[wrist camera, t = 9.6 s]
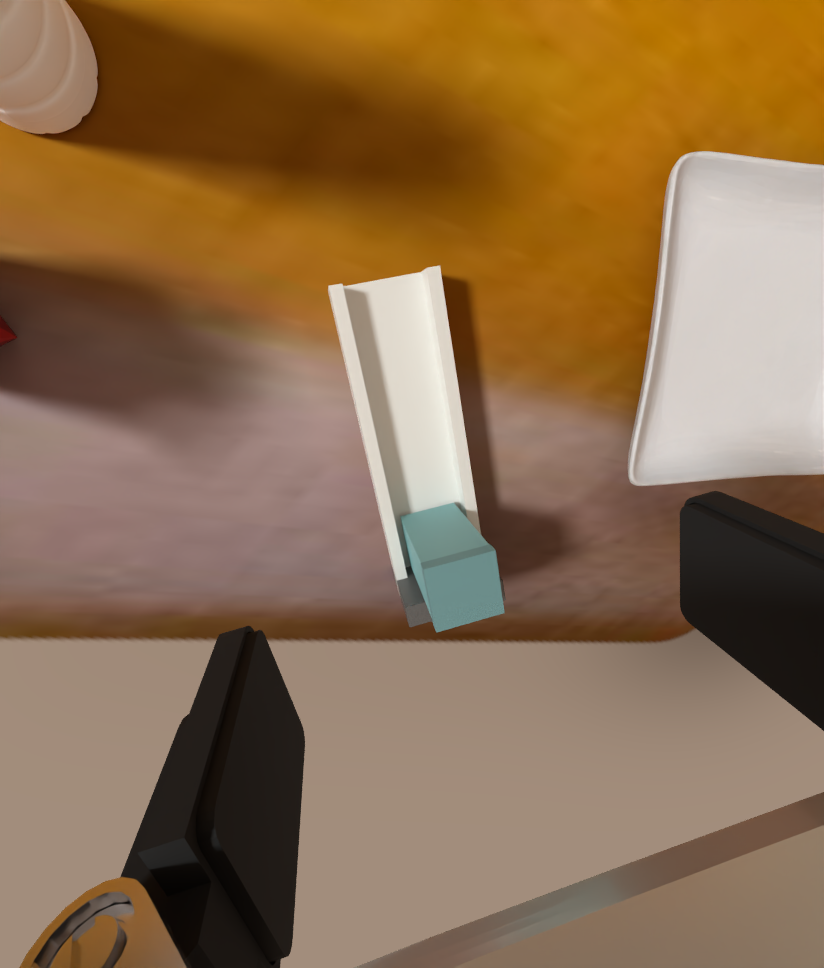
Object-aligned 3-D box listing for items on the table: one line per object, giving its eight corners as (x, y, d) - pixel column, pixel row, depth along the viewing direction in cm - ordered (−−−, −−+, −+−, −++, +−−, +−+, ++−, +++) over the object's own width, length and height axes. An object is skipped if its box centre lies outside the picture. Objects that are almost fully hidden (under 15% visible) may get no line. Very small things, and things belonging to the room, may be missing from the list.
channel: (430, 272, 28) (456, 253, 23) (476, 559, 35) (505, 599, 29) (328, 291, 27) (329, 276, 22) (395, 581, 34) (409, 627, 28)
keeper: (454, 501, 32) (495, 550, 24) (462, 551, 33) (504, 612, 25) (399, 515, 31) (423, 569, 24) (410, 566, 33) (436, 632, 25)
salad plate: (893, 187, 33) (955, 170, 30) (816, 463, 39) (860, 474, 36) (640, 167, 29) (680, 145, 26) (600, 476, 35) (628, 489, 32)
